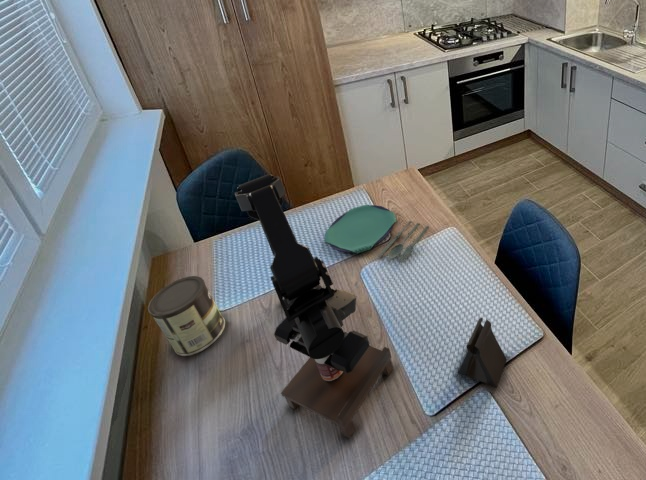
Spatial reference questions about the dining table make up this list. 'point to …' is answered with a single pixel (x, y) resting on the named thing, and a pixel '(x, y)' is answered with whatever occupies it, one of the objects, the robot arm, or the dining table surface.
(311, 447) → the dining table surface
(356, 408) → the shelf
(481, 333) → the phone stand
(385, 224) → the cutlery set
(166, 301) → the coffee can
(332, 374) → the pill bottle
